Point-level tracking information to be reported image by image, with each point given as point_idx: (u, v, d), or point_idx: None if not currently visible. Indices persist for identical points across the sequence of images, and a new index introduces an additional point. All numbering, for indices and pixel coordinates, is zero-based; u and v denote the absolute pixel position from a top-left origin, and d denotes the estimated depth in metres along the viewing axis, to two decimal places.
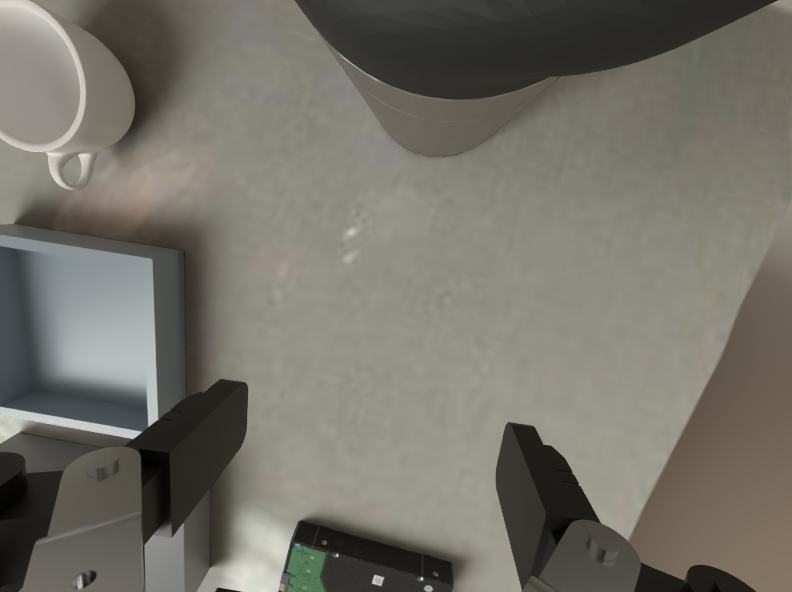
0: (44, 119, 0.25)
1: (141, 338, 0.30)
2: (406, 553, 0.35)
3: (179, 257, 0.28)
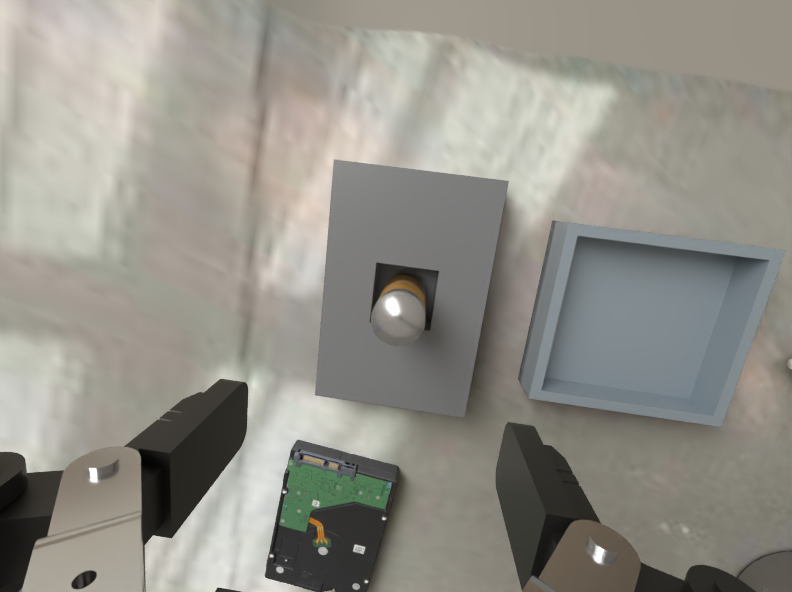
0: None
1: (615, 361, 0.31)
2: None
3: None
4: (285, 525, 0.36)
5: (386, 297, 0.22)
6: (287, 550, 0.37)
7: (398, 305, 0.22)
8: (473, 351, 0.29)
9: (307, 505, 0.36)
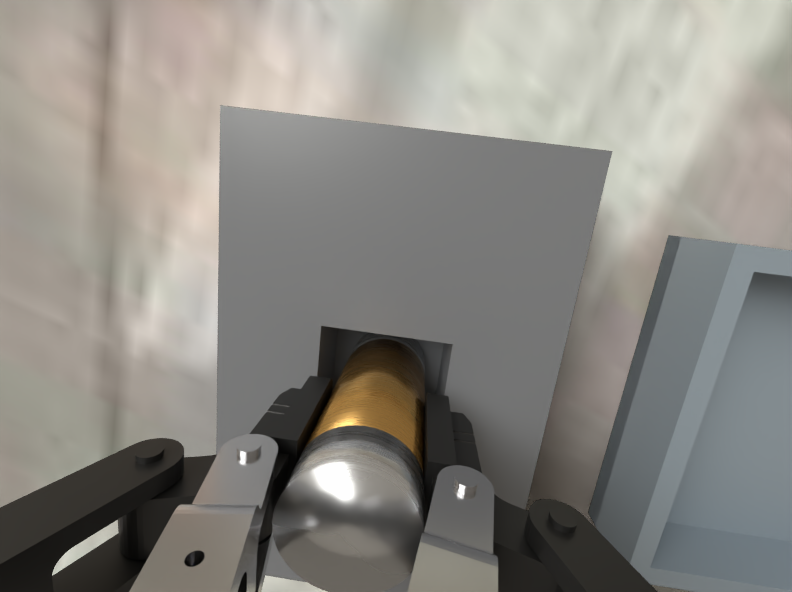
0: None
1: (775, 494, 0.17)
2: None
3: None
4: None
5: (311, 476, 0.08)
6: None
7: (347, 497, 0.08)
8: (520, 499, 0.14)
9: None
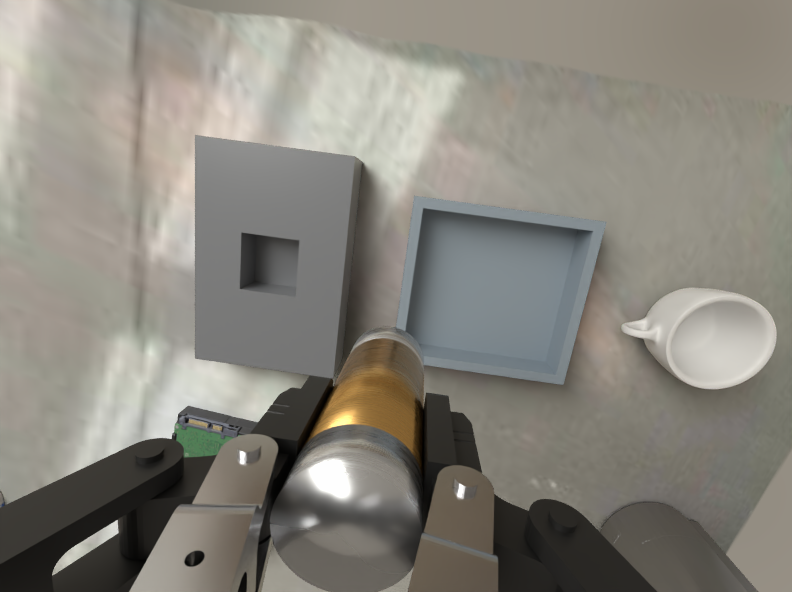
0: None
1: (477, 327, 0.34)
2: None
3: None
4: None
5: (309, 474, 0.08)
6: None
7: (344, 496, 0.08)
8: (336, 316, 0.31)
9: None
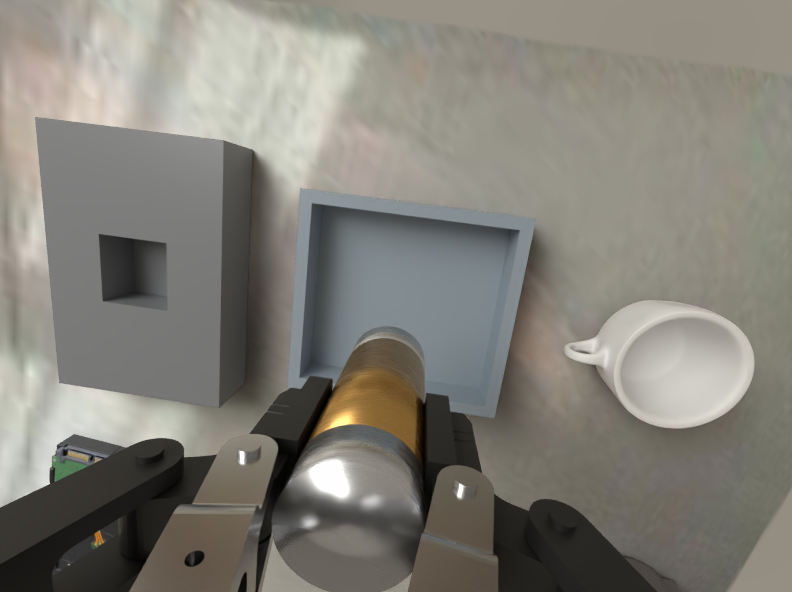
0: None
1: None
2: None
3: None
4: None
5: (311, 474, 0.08)
6: (70, 553, 0.35)
7: (347, 496, 0.08)
8: (216, 333, 0.26)
9: None
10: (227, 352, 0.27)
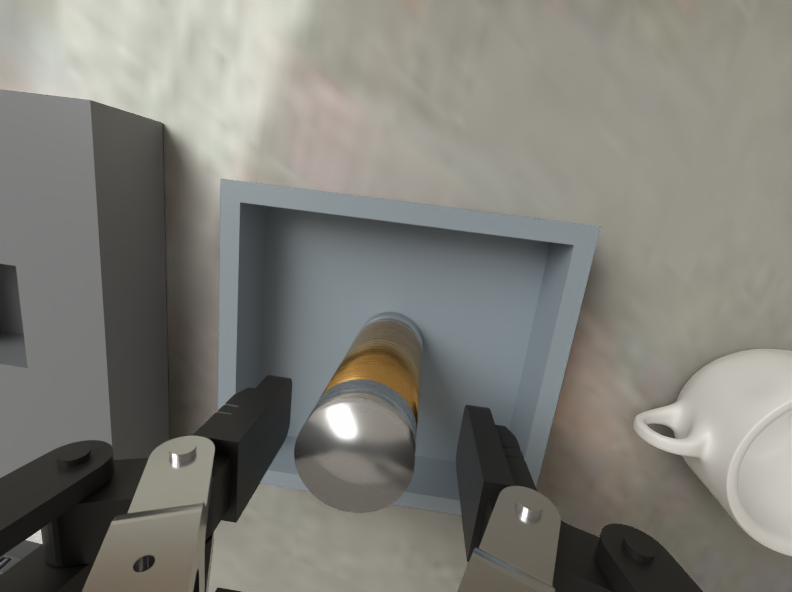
0: None
1: None
2: None
3: None
4: None
5: (326, 411, 0.10)
6: None
7: (353, 429, 0.10)
8: (103, 402, 0.17)
9: None
10: (128, 424, 0.18)
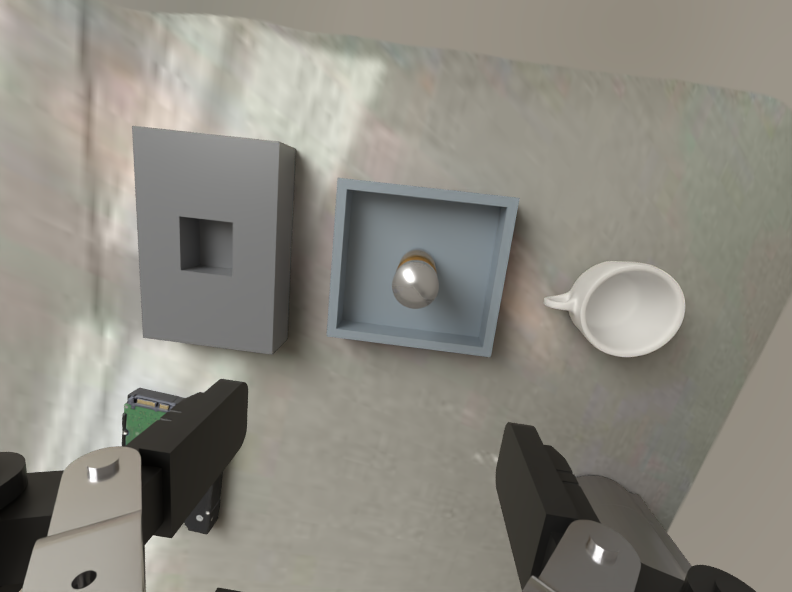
0: None
1: None
2: (219, 490, 0.43)
3: None
4: None
5: (405, 266, 0.26)
6: None
7: (415, 273, 0.26)
8: (271, 294, 0.33)
9: None
10: (277, 310, 0.34)
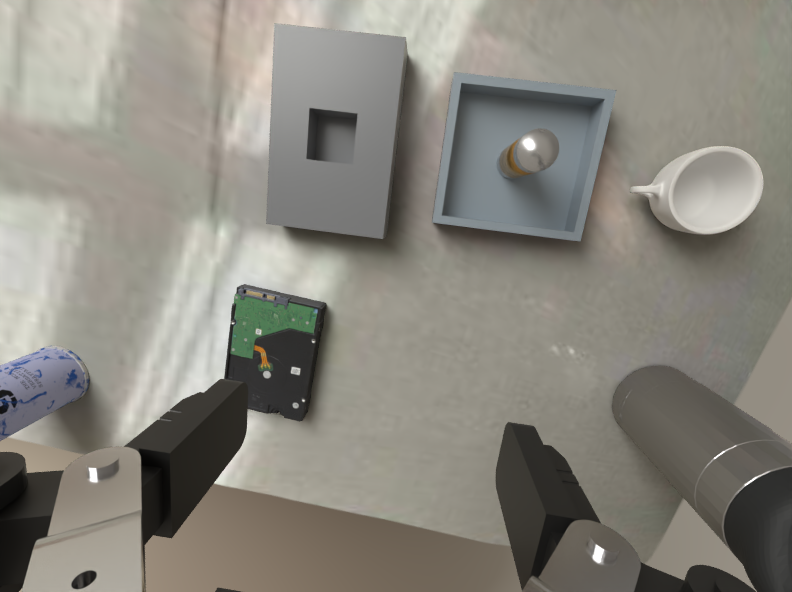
0: None
1: (504, 199, 0.40)
2: (311, 383, 0.47)
3: None
4: (235, 354, 0.45)
5: (531, 131, 0.30)
6: (239, 377, 0.46)
7: (539, 137, 0.30)
8: (386, 181, 0.37)
9: (251, 334, 0.44)
10: (388, 199, 0.39)
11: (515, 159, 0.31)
